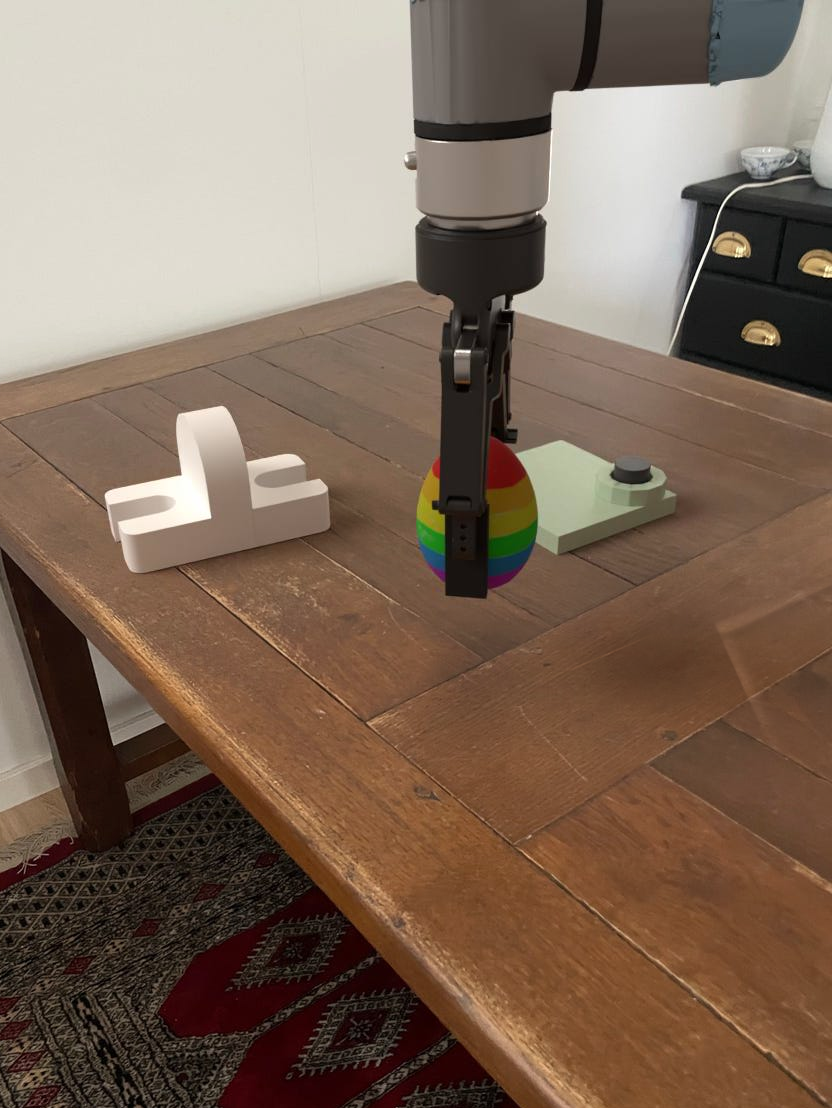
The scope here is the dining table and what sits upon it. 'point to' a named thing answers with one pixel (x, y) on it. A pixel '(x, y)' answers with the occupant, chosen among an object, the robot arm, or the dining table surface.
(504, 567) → the decorative egg
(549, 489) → the scale
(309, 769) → the dining table surface
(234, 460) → the bracket
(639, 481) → the button
